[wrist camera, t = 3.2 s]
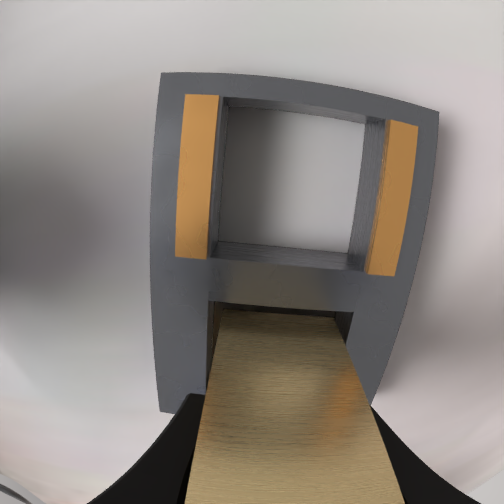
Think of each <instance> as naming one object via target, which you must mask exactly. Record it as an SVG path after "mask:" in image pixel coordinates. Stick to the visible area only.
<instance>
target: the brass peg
mask: <svg viewBox="0 0 504 504" xmlns="http://www.w3.org/2000/svg"><path fill="white" fill-rule="evenodd" d="M185 504H405V502H404V499H403V496H402V493H401V490H400V488H399V485H398V482H397V479H396V476H395V473H394V470H393V467H392V465H391V462H390V459H389V456H388V453H387V451H386V448H385V445H384V442H383V440H382V437H381V434H380V432H379V429H378V426H377V424H376V421H375V418H374V416H373V413H372V411H371V408H370V405H369V403H368V400H367V398H366V395H365V393H364V390H363V387H362V385H361V382H360V380H359V377H358V375H357V373H356V370H355V368H354V365H353V363H352V360H351V358H350V355H349V353H348V350H347V348H346V346H345V343H344V341H343V339H342V336H341V334H340V331H339V329H338V327H337V324H336V322H335V320H334V317H319V316H304V315H290V314H276V313H264V312H253V311H242V310H231V309H224V310H223V314H222V319H221V324H220V328H219V333H218V338H217V343H216V348H215V352H214V357H213V362H212V367H211V372H210V377H209V381H208V386H207V391H206V396H205V401H204V406H203V411H202V416H201V421H200V426H199V431H198V436H197V441H196V447H195V452H194V457H193V462H192V467H191V472H190V478H189V483H188V488H187V494H186V499H185Z"/></svg>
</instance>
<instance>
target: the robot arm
mask: <svg viewBox="0 0 504 504" xmlns="http://www.w3.org/2000/svg"><path fill="white" fill-rule="evenodd" d="M205 396H206V395H202V394H195V393H189V394H188V395H186V397H185V399H184V401H183V403H182V404H181V406H180V408H179V409H178V411H177V412H176V414H175V415H174V417H173V418H172V420H171V421H170V422H169V424H168V425H167V426H166V428H165V429H164V430H163V432H162V433H161V434H160V435H159V437H158V438H157V439H156V441H155V442H154V443H153V444H152V445H151V447H150V448H149V449H148V450H147V451H146V452H145V453H144V454H143V455H142V456H141V458H140V459H139V460H138V461H137V462H136V463H135V464H134V465H133V466H132V467H131V468H130V469H129V470H128V471H127V472H126V473H125V474H124V475H123V476H121V477H120V478H119V479H118V480H117V481H116V482H115V483H113V484H112V485H111V486H110V487H109V488H107V489H106V490H105V491H104V492H102V493H101V494H100V495H98V496H97V497H96V498H94V499H93V500H92V501H90V502H89V503H87V504H185V499H186V494H187V488H188V483H189V478H190V472H191V467H192V462H193V457H194V452H195V447H196V441H197V436H198V431H199V426H200V421H201V416H202V411H203V406H204V401H205ZM369 405H370V404H369ZM370 408H371V411H372V413H373V416H374V418H375V421H376V424H377V426H378V429H379V432H380V434H381V437H382V440H383V442H384V445H385V448H386V451H387V453H388V456H389V459H390V462H391V465H392V467H393V470H394V473H395V476H396V479H397V482H398V485H399V488H400V490H401V493H402V496H403V499H404V502H405V504H481V503H479V502H477V501H475V500H474V499H472V498H470V497H469V496H467V495H465V494H464V493H462V492H461V491H459V490H458V489H456V488H455V487H453V486H452V485H451V484H449V483H448V482H447V481H445V480H444V479H443V478H441V477H440V476H439V475H438V474H436V473H435V472H434V471H433V470H432V469H430V468H429V467H428V466H427V465H426V464H425V463H424V462H423V461H422V460H421V459H419V458H418V457H417V456H416V455H415V454H414V453H413V452H412V451H411V450H410V449H409V448H408V447H407V446H406V445H405V444H404V442H403V441H402V440H401V439H400V438H399V437H398V436H397V435H396V434H395V433H394V432H393V431H392V429H391V428H390V427H389V426H388V425H387V424H386V423H385V422H384V420H383V419H382V418H381V417H380V416H379V415H378V414H377V412H376V411H375V410H374V409H373V408H372V407H371V406H370Z"/></svg>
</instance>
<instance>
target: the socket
mask: <svg viewBox="0 0 504 504" xmlns="http://www.w3.org/2000/svg"><path fill="white" fill-rule="evenodd" d="M229 106H234V107H248V108H259V109H270V110H279V111H287V112H296V113H303V114H310V115H317V116H323V117H330V118H336V119H341V120H347V121H352V122H358V123H363V124H365V135H364V145H363V154H362V163H361V171H360V179H359V187H358V194H357V201H356V208H355V214H354V221H353V227H352V233H351V239H350V245H349V250H348V254H347V253H337V252H327V251H317V250H307V249H296V248H286V247H276V246H265V245H255V244H244V243H233V242H222V241H218V230H219V216H220V202H221V189H222V177H223V165H224V154H225V142H226V132H227V121H228V111H229ZM438 125H439V112H438V111H435V110H431V109H428V108H425V107H422V106H418V105H415V104H411V103H408V102H404V101H400V100H397V99H393V98H389V97H385V96H381V95H376V94H372V93H368V92H363V91H359V90H354V89H349V88H344V87H338V86H333V85H327V84H321V83H315V82H308V81H301V80H294V79H286V78H277V77H268V76H257V75H244V74H227V73H195V72H177V73H161V78H160V86H159V95H158V104H157V114H156V125H155V136H154V149H153V165H152V184H151V213H150V281H151V310H152V329H153V345H154V358H155V370H156V381H157V390H158V400H159V408H160V412H165V413H171V414H176V412H177V411H178V409H179V408H180V406H181V404H182V403H183V401H184V399H185V397H186V395H188V394H189V393H195V394H202V395H206V391H207V386H208V381H209V377H210V372H211V364H212V338H213V316H214V301H217V302H227V303H237V304H248V305H259V306H271V307H283V308H296V309H310V310H325V311H336V315H335V319H334V320H335V322H336V324H337V327H338V329H339V331H340V334H341V336H342V339H343V341H344V343H345V346H346V348H347V350H348V353H349V355H350V358H351V360H352V363H353V365H354V368H355V370H356V373H357V375H358V377H359V380H360V382H361V385H362V387H363V390H364V393H365V395H366V398H367V400H368V403H369V404H370V406H371V403H372V401H373V398H374V396H375V394H376V391H377V389H378V386H379V384H380V381H381V378H382V376H383V373H384V371H385V368H386V365H387V362H388V360H389V357H390V354H391V351H392V348H393V345H394V342H395V339H396V336H397V333H398V330H399V327H400V324H401V321H402V317H403V314H404V311H405V307H406V304H407V300H408V297H409V293H410V289H411V286H412V282H413V278H414V274H415V270H416V266H417V262H418V257H419V253H420V248H421V244H422V239H423V234H424V229H425V224H426V219H427V213H428V207H429V201H430V195H431V189H432V182H433V174H434V166H435V158H436V148H437V138H438Z"/></svg>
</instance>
